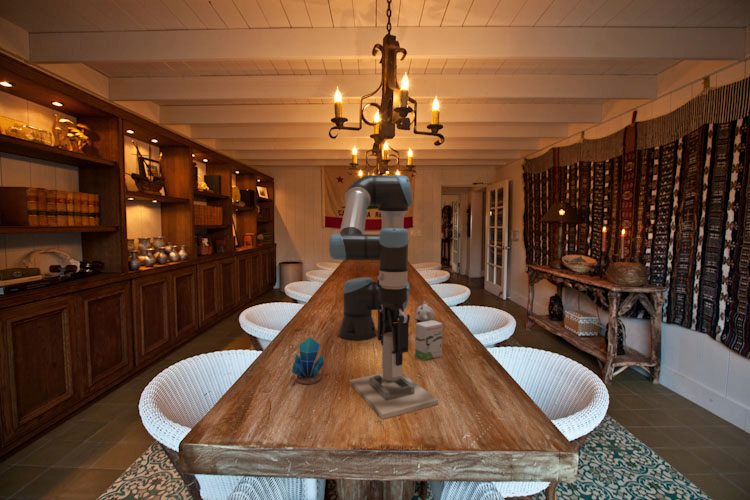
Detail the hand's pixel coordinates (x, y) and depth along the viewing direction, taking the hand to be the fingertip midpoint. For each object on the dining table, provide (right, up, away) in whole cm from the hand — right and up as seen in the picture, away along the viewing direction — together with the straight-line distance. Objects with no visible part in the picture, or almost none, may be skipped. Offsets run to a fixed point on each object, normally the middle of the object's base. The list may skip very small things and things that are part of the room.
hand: (391, 371), depth 94 cm
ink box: (+14, -4, +28) cm, 31 cm away
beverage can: (0, -2, 0) cm, 2 cm away
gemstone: (-24, -5, +9) cm, 26 cm away
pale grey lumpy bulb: (+19, -1, +72) cm, 74 cm away
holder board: (0, -6, +1) cm, 6 cm away
